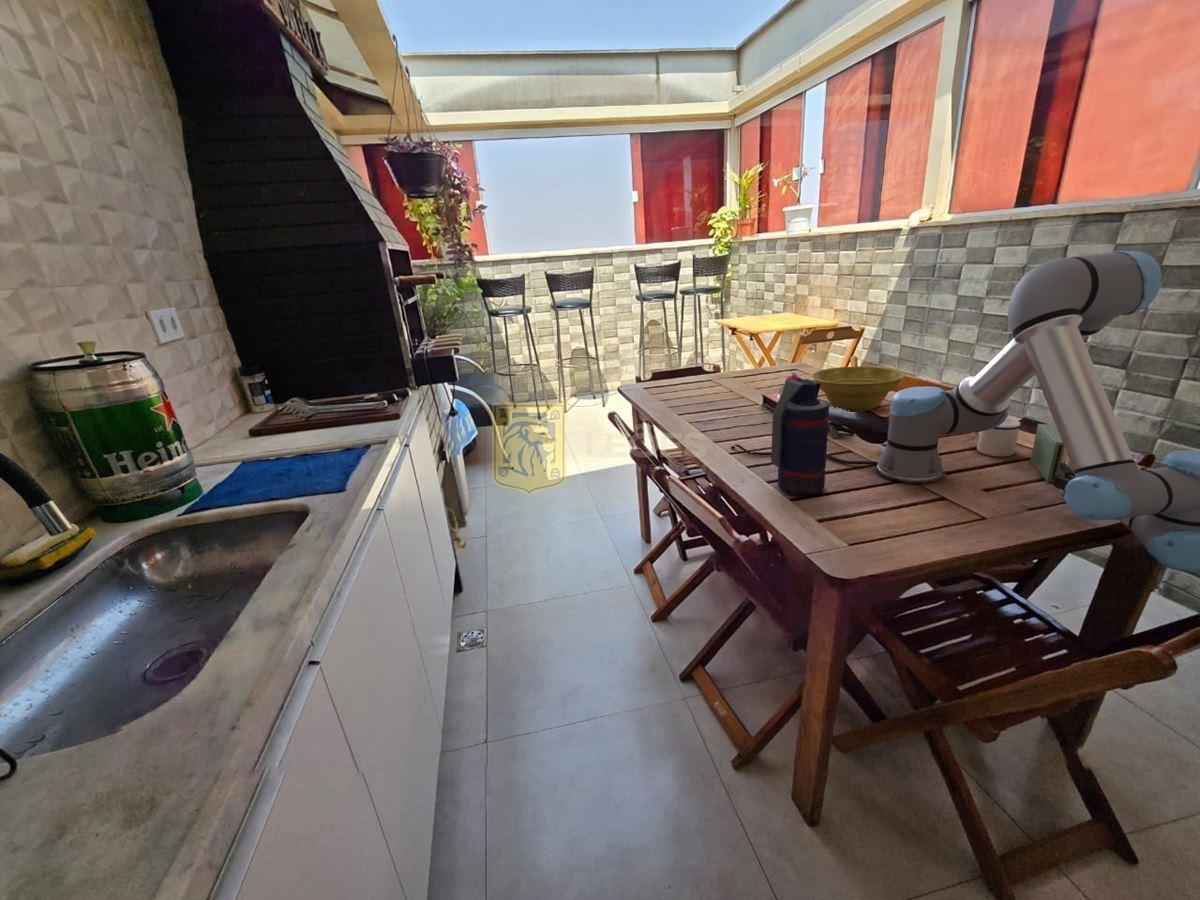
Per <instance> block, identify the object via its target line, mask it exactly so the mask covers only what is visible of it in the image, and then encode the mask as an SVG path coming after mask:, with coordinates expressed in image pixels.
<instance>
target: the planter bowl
mask: <svg viewBox="0 0 1200 900" xmlns="http://www.w3.org/2000/svg"><path fill="white" fill-rule="evenodd" d="M905 377H906V373H904V372H903V371H901V370H897V369H894V368H888V367H881V366H880V367H879V366H865V365H864V366H862V365H861V366H860V365H859V366H855V365H854V366H841V367H831V368H824V369H821V370H818V371H815V372H813V373H812V374H811V378H812V379H813V380H814V381H815V382H818V383H821V385H820V389H819V390H821V391H822V392H824V395H825V398H826V399H827V400H828V401H827V402H828V403H829V405H831V406H832V407H834V406H835V407H838V408H842V409H845V410H850V411H849V412H866V411H872V410H874V409H875V408H877V407H879V406H880V405H881V403H882V402H883V401H884V400H885V399H886V397H887V395H888V394H889V393H891V391H894V390H895V389H896V388H897V387H898V386H899V384H900V382H901V381H902V379H904V378H905ZM835 407H834V408H835Z"/></svg>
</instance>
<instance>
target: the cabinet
mask: <svg viewBox="0 0 1200 900" xmlns="http://www.w3.org/2000/svg"><path fill="white" fill-rule="evenodd" d="M1059 446H1064V444H1063V442H1062V439H1061V437H1060V434H1059V432H1058V429H1057V427H1056V424H1055V423H1053V424H1052V423H1051V424H1049V423H1037V428H1036V433H1035V438H1034V441H1033V446H1032V450H1031V456H1030V459H1029V461H1030V462H1031V464H1032V465H1033V466H1034V467H1035V468H1036V469H1037V471H1038V472H1039V474H1040V475H1041V476H1042V477H1043V479H1044V481H1046V482H1047V483H1053V480H1054V476H1053V472H1054V467H1055V463H1056V459H1057V454H1058V450H1059Z"/></svg>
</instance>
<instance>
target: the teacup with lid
mask: <svg viewBox="0 0 1200 900" xmlns="http://www.w3.org/2000/svg"><path fill="white" fill-rule="evenodd" d="M1021 427H1022V424H1021V422H1020V421H1019V420H1017V419H1014V418H1012V417H1009V416H1007V418H1006V419H1005V421H1004V422H1003V423H1002V424H1000V425H999V426H997V427H995V428H993V429H989V430H986V431H981V432H971V433H972V435H973V436H974V438H976V440H977V443H976V444H977V445H976V450H977V451H978V452H979V453H981V454H984V455H986V456H991V457H1010V456H1012V455H1014V454H1015V452H1016V447H1017V443H1018V437H1019V433H1020V429H1021Z"/></svg>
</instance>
